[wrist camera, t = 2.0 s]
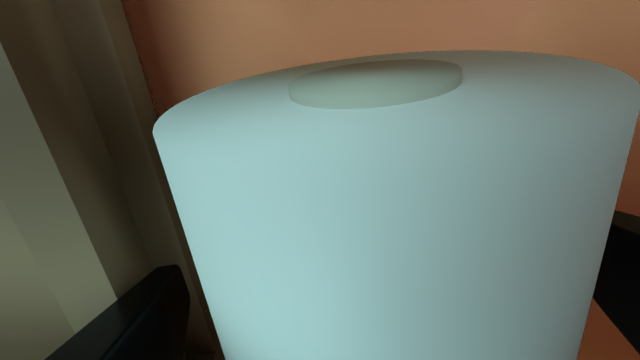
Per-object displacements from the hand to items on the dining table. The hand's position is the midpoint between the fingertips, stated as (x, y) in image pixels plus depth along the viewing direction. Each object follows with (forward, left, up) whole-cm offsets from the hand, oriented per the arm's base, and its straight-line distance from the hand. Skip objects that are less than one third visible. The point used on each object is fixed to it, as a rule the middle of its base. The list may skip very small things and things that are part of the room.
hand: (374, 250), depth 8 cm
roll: (0, 0, -2) cm, 2 cm away
